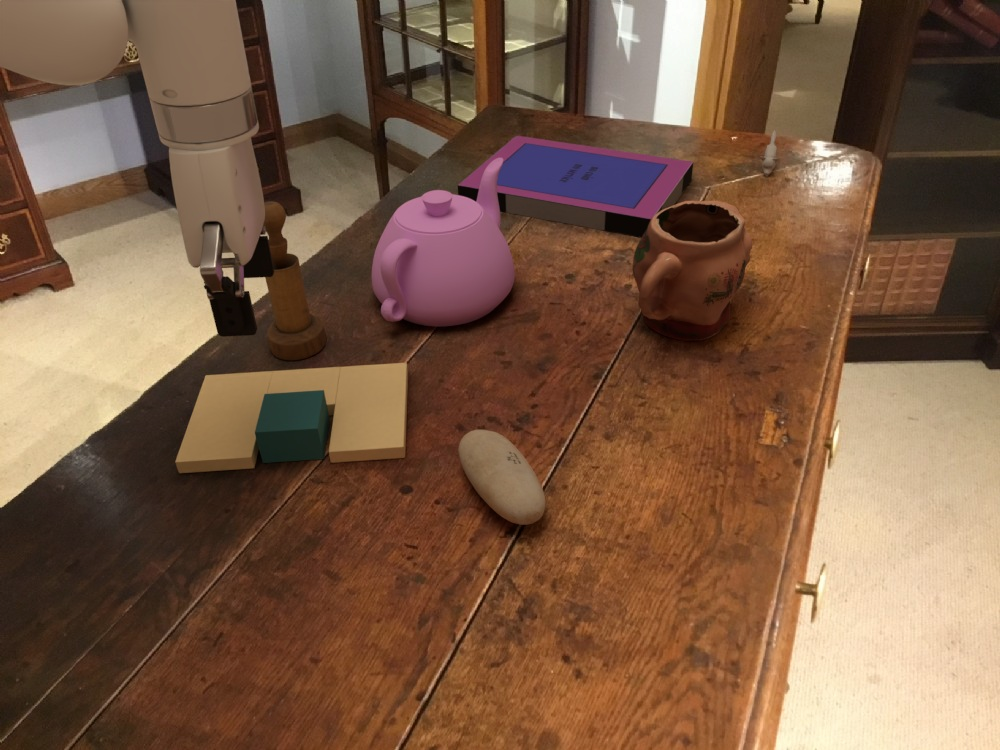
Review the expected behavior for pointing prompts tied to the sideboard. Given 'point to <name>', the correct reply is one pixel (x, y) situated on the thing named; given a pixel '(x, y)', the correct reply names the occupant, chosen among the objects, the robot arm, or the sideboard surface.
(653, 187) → the book
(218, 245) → the robot arm
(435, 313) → the teapot
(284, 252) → the mortar and pestle
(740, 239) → the decorative planter
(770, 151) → the dog figurine
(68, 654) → the sideboard surface
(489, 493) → the stone
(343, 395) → the tan u-shaped block
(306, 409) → the teal block
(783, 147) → the sideboard surface
